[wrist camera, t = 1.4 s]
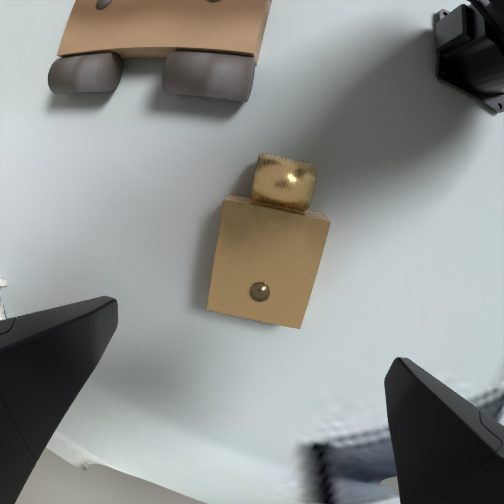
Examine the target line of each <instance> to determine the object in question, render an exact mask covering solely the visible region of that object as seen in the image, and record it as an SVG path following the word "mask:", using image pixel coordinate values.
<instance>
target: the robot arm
mask: <svg viewBox="0 0 504 504" xmlns="http://www.w3.org/2000/svg"><path fill="white" fill-rule="evenodd" d="M467 1H470V2H471V4H470V5H469V6H467V5H465V4H462V5H460V6H458V7H457V8H456V9H454V10H453V11H452V12H448V11H447V10H444V9H442V10H440V11H439V12H438V22H437V23H436V40H435V50H436V52H437V63H436V76H437V78H438V80H440V81H441V82H443V83H445V84H447V85H449V86H451V87H453V88H455V89H457V90H459V91H461V92H463V93H465V94H466V95H468V96H470V97H472V98H474V99H476V100H477V101H479V102H481V103H482V104H484V105H486V106H488V107H489V108H491V109H492V110H494V111H496V112H498V113H501V112H503V111H504V0H467ZM443 14H444V15H445V16H444V15H443ZM441 72H442V73H443V74H444V76H445V77H443V76H442V74H441ZM498 105H499V107H498ZM117 325H118V304H117V300H116V299H114V298H111V297H108V296H102V297H98V298H94V299H90V300H86V301H81V302H77V303H73V304H69V305H65V306H60V307H56V308H52V309H48V310H43V311H39V312H35V313H31V314H26V315H22V316H18V317H17V318H16V317H13V318H9V319H5V320H0V504H15V502H16V500H17V498H18V496H19V494H20V492H21V490H22V489H23V487H24V484H25V483H26V481H27V479H28V477H29V475H30V474H31V472H32V470H33V468H34V467H35V465H36V462H37V461H38V459H39V457H40V456H41V454H42V452H43V450H44V449H45V447H46V445H47V443H48V442H49V440H50V438H51V437H52V435H53V433H54V432H55V430H56V428H57V427H58V425H59V423H60V422H61V420H62V419H63V417H64V415H65V414H66V412H67V411H68V409H69V407H70V406H71V404H72V403H73V401H74V399H75V398H76V396H77V395H78V393H79V392H80V390H81V389H82V387H83V385H84V384H85V382H86V381H87V379H88V378H89V376H90V375H91V373H92V372H93V370H94V369H95V367H96V366H97V364H98V362H99V361H100V359H101V357H102V355H103V353H104V351H105V349H106V347H107V345H108V343H109V341H110V339H111V338H112V336H113V334H114V332H115V330H116V328H117ZM384 386H385V395H386V406H387V417H388V424H389V430H390V435H391V441H392V447H393V453H394V459H395V465H396V472H397V479H398V487H399V495H400V503H401V504H504V426H503V425H501V424H500V423H498V422H497V421H495V420H494V419H492V418H491V417H489V416H488V415H487V414H485V413H484V412H482V411H481V410H478V408H477V407H475V406H474V405H473V404H471V403H470V402H468V401H467V400H466V399H464V398H463V397H461V396H460V395H459V394H457V393H456V392H454V391H453V390H452V389H450V388H449V387H447V386H446V385H445V384H443V383H442V382H440V381H439V380H438V379H436V378H435V377H433V376H432V375H431V374H429V373H428V372H426V371H425V370H424V369H422V368H421V367H419V366H418V365H417V364H415V363H414V362H412V361H411V360H410V359H408V358H402V357H397V358H396V359H395V360H394V361H393V363H392V365H391V367H390V369H389V371H388V373H387V375H386V377H385V380H384Z"/></svg>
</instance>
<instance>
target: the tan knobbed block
mask: <svg viewBox="0 0 504 504" xmlns="http://www.w3.org/2000/svg"><path fill="white" fill-rule="evenodd" d="M315 178H316V165H315V164H311V163H307V162H302V161H298V160H294V159H289V158H284V157H280V156H275V155H270V154H265V153H260V154H259V157H258V161H257V165H256V169H255V174H254V179H253V185H252V191H251V198H248V197H243V196H238V195H232V194H230V195H229V196H228V197H226V198H225V199H224V203H223V209H222V215H221V221H220V226H219V232H218V238H217V244H216V251H215V257H214V263H213V270H212V276H211V283H210V289H209V296H208V303H207V310H210V311H214V312H219V313H223V314H228V315H232V316H237V317H241V318H246V319H251V320H256V321H261V322H265V323H270V324H276V325H281V326H286V327H291V328H297V329H300V327H301V324H302V321H303V318H304V314H305V311H306V308H307V305H308V301H309V298H310V295H311V291H312V288H313V284H314V281H315V277H316V274H317V270H318V267H319V263H320V260H321V256H322V252H323V249H324V245H325V241H326V237H327V234H328V230H329V226H330V221H329V219H328V218H327V217H326V216H325V214H322V213H317V212H313V211H309V210H307V209H308V207H309V204H310V201H311V197H312V193H313V189H314V184H315Z"/></svg>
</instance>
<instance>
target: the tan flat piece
mask: <svg viewBox="0 0 504 504" xmlns="http://www.w3.org/2000/svg"><path fill="white" fill-rule="evenodd" d="M271 1H272V0H76V1H75V4H74V6H73V9H72V12H71V14H70V17H69V20H68V22H67V25H66V28H65V31H64V34H63V37H62V40H61V43H60V47H59V50H58V53H57V56H59V57H62V58H60V59H58V60H56V61H55V62H54V63H53V64H52V66H51V68H50V70H49V74H48V85H49V87H50V89H51V91H52V92H53V93H56V94H62V93H78V92H110V91H113V90H114V89H115V88H116V87H117V86H118V84H119V82H120V79H121V76H122V60H121V58H167V59H166V61H165V64H164V68H163V76H162V81H163V87H164V90H165V92H166V93H169V94H182V95H193V96H203V97H212V98H220V99H227V100H235V101H241V102H247V101H248V99H249V96H250V92H251V89H252V84H253V79H254V72H255V65H256V66H257V61H258V57H259V52H260V48H261V43H262V39H263V35H264V30H265V26H266V22H267V18H268V14H269V9H270V5H271Z"/></svg>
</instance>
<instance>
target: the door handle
mask: <svg viewBox="0 0 504 504" xmlns="http://www.w3.org/2000/svg"><path fill="white" fill-rule="evenodd" d="M4 285H6V286H7V282H6V281H5V280H3V279H2V278H0V286H2V287H4ZM5 319H6V317H5V314H4V308H3V304H0V320H5Z"/></svg>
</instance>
